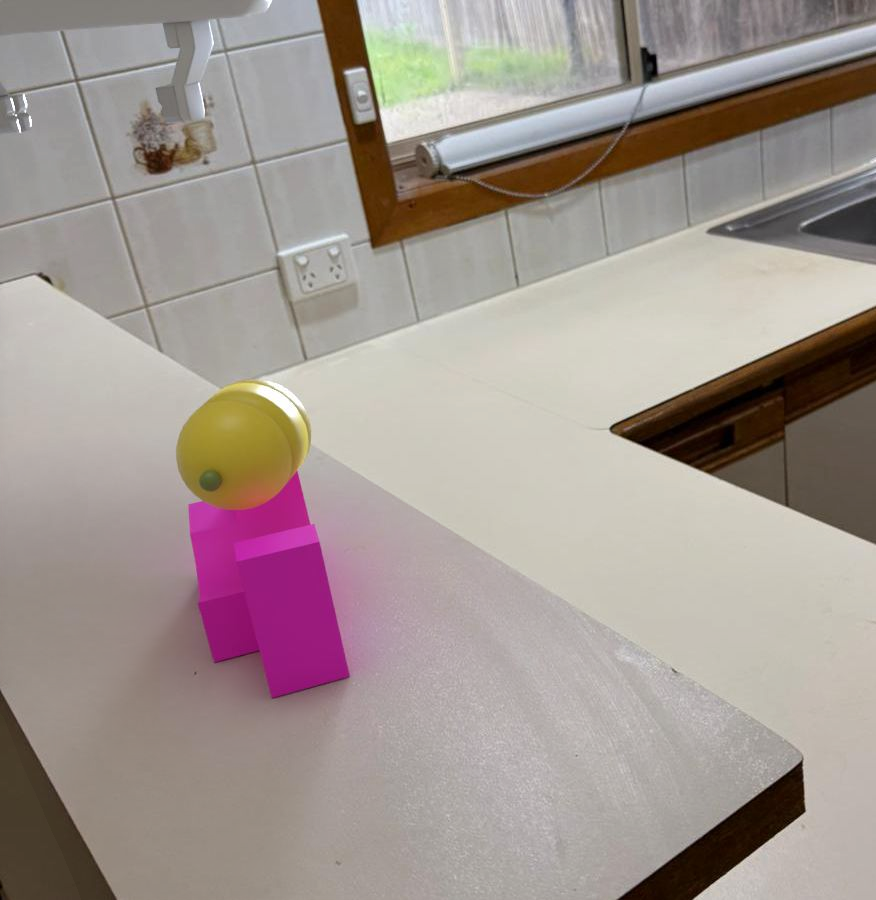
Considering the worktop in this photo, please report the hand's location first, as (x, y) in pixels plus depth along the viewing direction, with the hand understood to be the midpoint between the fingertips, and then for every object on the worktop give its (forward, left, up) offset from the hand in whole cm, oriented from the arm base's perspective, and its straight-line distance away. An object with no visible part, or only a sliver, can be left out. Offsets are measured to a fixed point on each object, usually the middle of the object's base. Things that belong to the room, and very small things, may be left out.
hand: (97, 127), depth 57 cm
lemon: (+6, -6, -18) cm, 20 cm away
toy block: (+6, -6, -26) cm, 27 cm away
